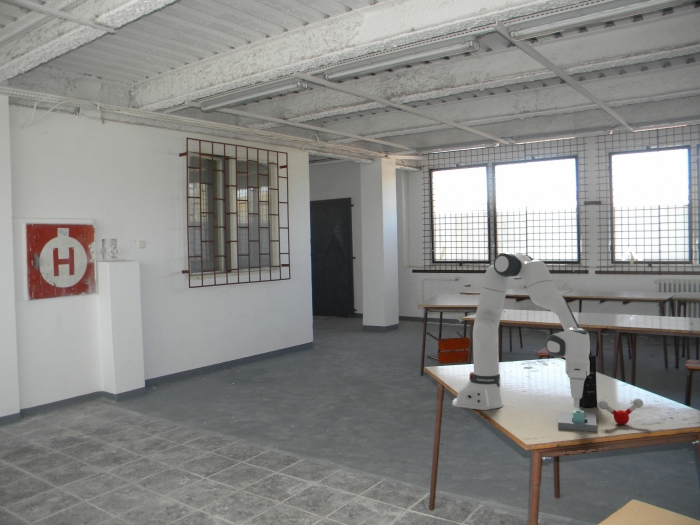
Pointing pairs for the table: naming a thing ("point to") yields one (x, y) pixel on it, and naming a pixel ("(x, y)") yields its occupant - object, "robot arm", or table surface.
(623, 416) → the molecular model
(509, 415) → the table surface
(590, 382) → the portable radio
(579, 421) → the block
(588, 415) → the outlet plate
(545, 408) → the table surface
